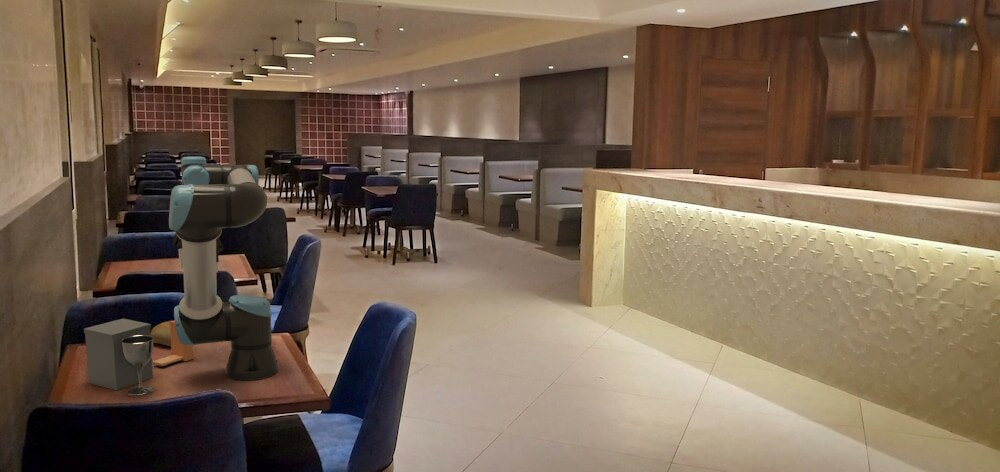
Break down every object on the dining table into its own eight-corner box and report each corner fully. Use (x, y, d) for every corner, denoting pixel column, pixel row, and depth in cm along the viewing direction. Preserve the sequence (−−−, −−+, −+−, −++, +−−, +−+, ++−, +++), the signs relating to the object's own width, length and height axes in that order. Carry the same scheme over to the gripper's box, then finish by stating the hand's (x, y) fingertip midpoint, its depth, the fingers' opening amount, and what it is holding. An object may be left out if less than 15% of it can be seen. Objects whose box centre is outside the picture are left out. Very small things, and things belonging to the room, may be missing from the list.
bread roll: (165, 338, 263) (163, 315, 262) (199, 344, 258) (198, 321, 257) (142, 346, 255) (141, 322, 253) (177, 352, 249) (176, 328, 248)
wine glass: (118, 393, 212) (114, 341, 210) (140, 384, 220) (137, 333, 217) (140, 397, 209) (137, 344, 207) (162, 388, 217) (159, 337, 214)
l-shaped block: (193, 358, 242) (191, 321, 240) (164, 368, 232) (162, 330, 230) (180, 355, 244) (178, 319, 242) (150, 365, 235) (148, 327, 233)
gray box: (154, 377, 225) (151, 323, 223) (115, 390, 214) (112, 334, 211) (127, 370, 231) (123, 318, 228) (87, 383, 219) (83, 328, 217)
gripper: (233, 206, 242) (235, 272, 245) (177, 201, 253) (180, 264, 256) (215, 209, 235) (217, 276, 238) (158, 203, 246) (162, 268, 249)
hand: (198, 270), depth 247 cm, fingers open, 13 cm apart
